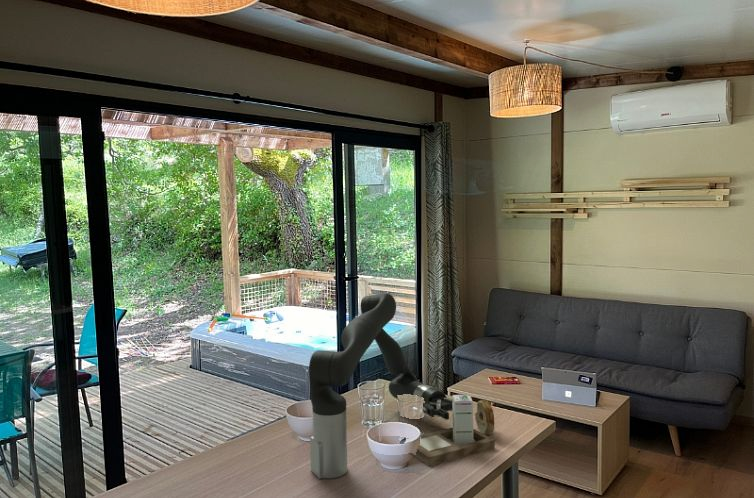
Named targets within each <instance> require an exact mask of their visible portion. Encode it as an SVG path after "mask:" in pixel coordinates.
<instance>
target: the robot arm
mask: <svg viewBox="0 0 754 498" xmlns="http://www.w3.org/2000/svg"><path fill="white" fill-rule="evenodd" d="M396 311H397V302H396V299H395V297H394V296H393V295H391V294H390V293H386V292H382V293H376V294H370V295H369V294H368V295H366V296H364V297H362V299H361V300H360V312H361V314H359V315H358V316H356V317H354V318H353V319H352V320H351V321H349V323H348V324H347V325H346V326H345V327H344V329H343V330H342V333H341V336H340V337H341V339H340V340H341V345H342V347H343V350H342V351H337V350H336V351H335V350H334V351H333V350H322V349H321V350H316V351H314V352H313V353H312V354H311V357H310V358H309V359H310V360H309V365H308V381H309V391H310V393H309V394H310V402H311V408H312V409H311V410H312V436H310V438H309V439H310V444H309V445H310V449H309V450H310V471H311V472H312V473H313V474H314V475H315V476H316V477H317V478H318V480H319V479H320V480H321V479H335V478H339V477H342V476H344V475H346V474H347V472H348V437H347V436H348V435H347V434H348V431H347V427H348V425H347V400H346V398H345V397H344V396H343V395H341V394H339V393H337V392H336V391H334V390H333V389H332V387H335V388H336V387H337V388H339V387H345V385H347V383H349V381H350V379H352V376H353V374H354V373H355V370H356V369H357V367H358V364H359V362H360V361H361V359H362V358H363V356H364V355H365V354H366V352H367V350H369V348H370V346H371V345H372V344H373V342H374V341H375V343H376V344H377V346H378V348H379V350H380V353H381V355H382V358H383V361H384V363H385V367H386V370H387V371H388V373H389V375H393V376H397V375H398V376H397V377H395V378H393V379H392V380H391V381H390V382H389V383H388V392H389V393H390V395H391V396H392V397H394V398H395V399H397V395H403V394H411V395H417V396H419V397H423V398H424V401H425V403H423V408H422V413H424V414H426V416H427V415H428V416H429V417H430V418H435V416H436V417H438V418H439V417H440V418H442V419H444V420H446V421H448V420H449V419H450V412H453V406H452V398H450V397H447V395H446V394H445V393H444V392H443V391H442V390H440V389H438V388H436V387H433V386H432V385H428V384H425V383H423V382H422V381H421V382H420V381H419V380H418V378H417V376H416V375H415V373H413V371H412V370H411V368H410V367H409V364H408V363H407V361H406V357H405V355H404V352H403V349H402V347H401V345H400V344H399V343H398V342H397V341H396V340H395V338H393V337H392V336H391V335H390V334H388V332H387V331H385V330H384V329H385V328H384V327H386V326H387V325H388V323H390V322H391V321H392V320H393V318H394V316H395V315H396V313H397V312H396ZM397 400H398V399H397Z"/></svg>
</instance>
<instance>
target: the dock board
mask: <svg viewBox="0 0 754 498" xmlns="http://www.w3.org/2000/svg"><path fill="white" fill-rule="evenodd" d="M420 435H421V439H420V444H419V447H418V449H417V452H416V455H415V456H414V457H415V458H417V459H418V460H420V461H421V462H422V463H424V464H426V466H428V467H431V466H435V465H438V464H443V463H445V462H449V461H453V460H456V459H461V458H464V457H467V456H471V455H475V454H478V453H483V452H486V451H489V450H490V451H491V450H493V449H496V448H495V447H496V446H495V445H496V444H495V443H496V442H495V441H496V439H494V438H492V437H490V436H488V435H487V434H483V433H482V432H481V431H480V430H479V431H478V430H477V429H475V428H473V442H472V443H468V444H464V445H460V446H459V445H457V444H456V443H454V442H453V427H450V428H445V429H442V430H437V431H433V432H429V433H425V434H420Z"/></svg>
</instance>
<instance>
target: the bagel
mask: <svg viewBox="0 0 754 498" xmlns="http://www.w3.org/2000/svg"><path fill="white" fill-rule="evenodd" d="M476 408H477V409H476V412H475V413H474V418H475V421H476V425H477V428H478V429H479V432H481V433H483V434H484V435H490V434H492V433H493V432H494V431H495V415H494V409H493V407H492V405H491V403H490V402H489V401H488V400H485V399H483V400H478V401H477V403H476Z"/></svg>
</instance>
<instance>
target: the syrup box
mask: <svg viewBox="0 0 754 498" xmlns="http://www.w3.org/2000/svg"><path fill="white" fill-rule="evenodd" d="M451 399H452V406H453V411H452V428H453V439H452V442H454V443H456V444H457V445H459V446H460V445H464V444H468V443H472V442H474V440H473V429H474V402H473V399H472V396H471V395H470V394H454V395H453V394H452V398H451Z"/></svg>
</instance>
